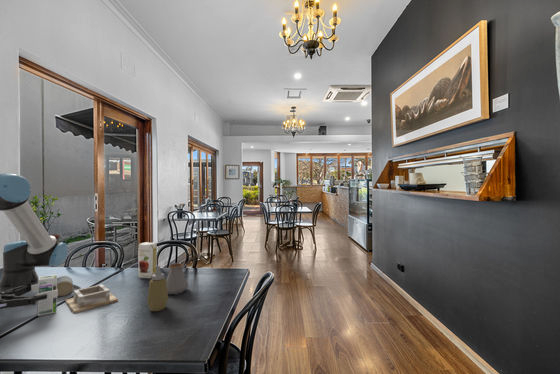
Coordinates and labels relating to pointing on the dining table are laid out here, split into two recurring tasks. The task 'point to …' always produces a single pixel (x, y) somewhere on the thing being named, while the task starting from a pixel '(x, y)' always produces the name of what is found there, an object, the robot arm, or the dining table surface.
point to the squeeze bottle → (157, 291)
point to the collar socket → (90, 298)
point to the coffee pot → (177, 278)
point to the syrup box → (44, 286)
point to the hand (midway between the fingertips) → (54, 288)
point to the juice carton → (147, 259)
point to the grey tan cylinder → (65, 285)
